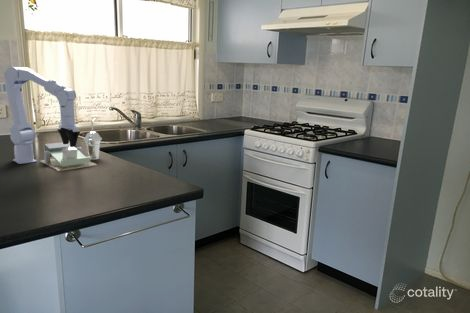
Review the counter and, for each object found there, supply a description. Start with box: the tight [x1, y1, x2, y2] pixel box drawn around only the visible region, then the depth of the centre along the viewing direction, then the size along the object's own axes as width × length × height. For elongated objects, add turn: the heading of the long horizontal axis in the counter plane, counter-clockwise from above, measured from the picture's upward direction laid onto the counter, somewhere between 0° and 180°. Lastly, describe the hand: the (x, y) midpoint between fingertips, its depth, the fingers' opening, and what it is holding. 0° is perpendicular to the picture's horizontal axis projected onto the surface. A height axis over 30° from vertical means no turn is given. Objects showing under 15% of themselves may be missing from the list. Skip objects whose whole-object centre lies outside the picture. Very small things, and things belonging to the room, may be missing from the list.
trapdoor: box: [44, 141, 91, 166], centre depth 181 cm, size 21×13×4 cm, turn 45°
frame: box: [39, 146, 97, 172], centre depth 181 cm, size 22×18×6 cm
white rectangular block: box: [62, 146, 77, 160], centre depth 175 cm, size 4×5×6 cm
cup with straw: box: [83, 117, 103, 161], centre depth 190 cm, size 8×9×20 cm
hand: (69, 145), depth 175 cm, fingers open, 7 cm apart
